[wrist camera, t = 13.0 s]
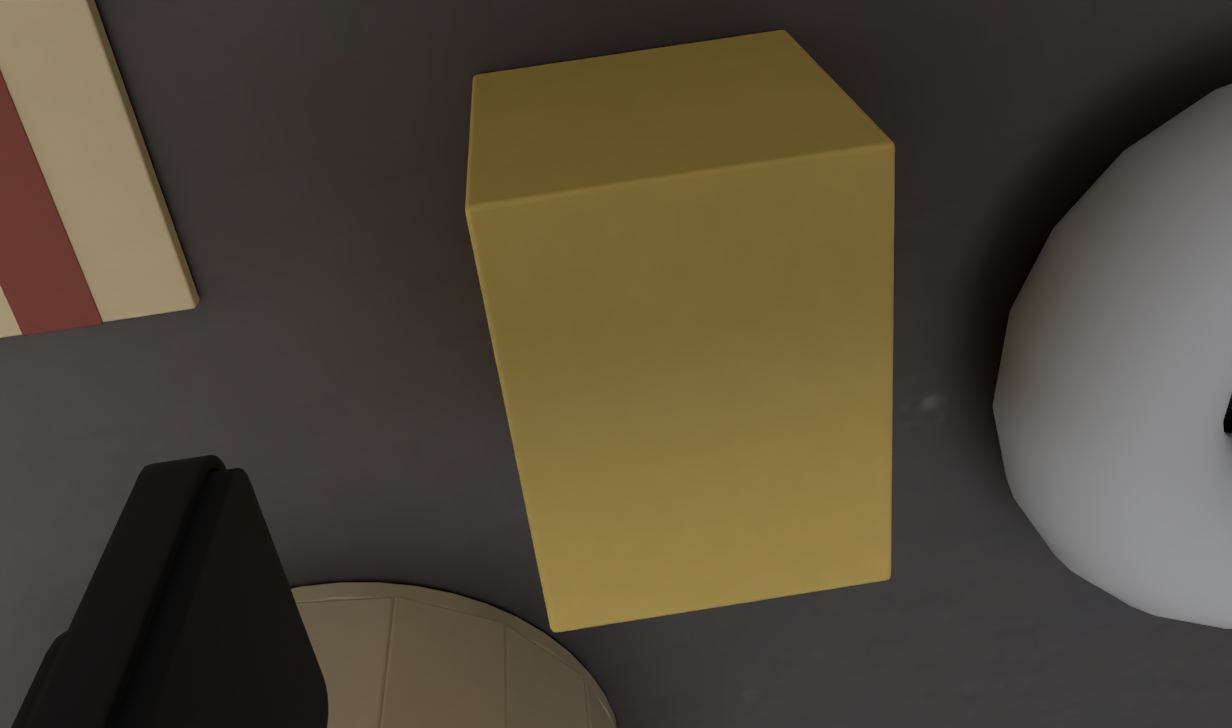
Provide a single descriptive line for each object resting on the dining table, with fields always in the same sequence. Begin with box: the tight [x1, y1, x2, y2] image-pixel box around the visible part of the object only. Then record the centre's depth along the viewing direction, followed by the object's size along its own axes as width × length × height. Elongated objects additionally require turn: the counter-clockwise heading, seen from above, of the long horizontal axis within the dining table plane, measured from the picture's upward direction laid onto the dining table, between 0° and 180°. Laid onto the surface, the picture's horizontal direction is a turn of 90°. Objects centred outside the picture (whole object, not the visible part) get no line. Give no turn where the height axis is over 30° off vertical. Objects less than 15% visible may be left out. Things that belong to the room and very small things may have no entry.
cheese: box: [465, 30, 895, 633], centre depth 15 cm, size 6×4×5 cm
